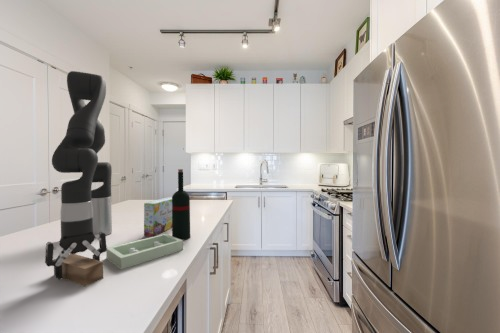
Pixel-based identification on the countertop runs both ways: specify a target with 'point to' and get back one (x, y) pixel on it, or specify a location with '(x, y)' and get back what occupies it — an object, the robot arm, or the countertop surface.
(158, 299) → the countertop surface
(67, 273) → the walnut plank
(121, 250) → the pale green tray
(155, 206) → the snack box
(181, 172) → the wine bottle
